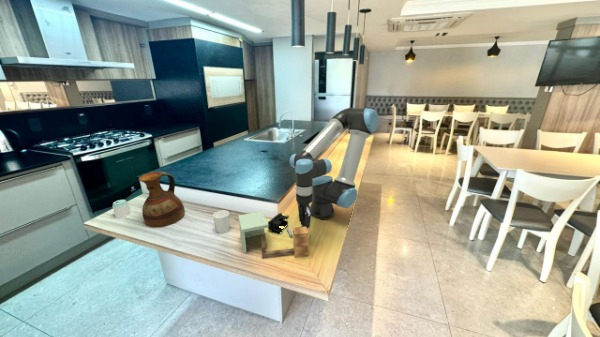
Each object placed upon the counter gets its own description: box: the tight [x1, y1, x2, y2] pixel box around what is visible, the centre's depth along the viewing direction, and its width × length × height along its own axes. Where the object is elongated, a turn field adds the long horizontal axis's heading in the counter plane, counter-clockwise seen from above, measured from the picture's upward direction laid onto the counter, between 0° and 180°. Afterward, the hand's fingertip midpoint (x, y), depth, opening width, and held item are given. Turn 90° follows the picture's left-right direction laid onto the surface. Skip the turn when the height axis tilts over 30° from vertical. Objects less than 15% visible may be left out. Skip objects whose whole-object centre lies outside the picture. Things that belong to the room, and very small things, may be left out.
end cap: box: [267, 212, 289, 235], centre depth 122 cm, size 10×7×7 cm
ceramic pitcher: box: [138, 171, 186, 228], centre depth 126 cm, size 20×20×30 cm
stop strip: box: [285, 226, 293, 239], centre depth 118 cm, size 1×7×2 cm, turn 20°
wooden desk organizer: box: [261, 226, 309, 259], centre depth 105 cm, size 20×12×12 cm, turn 99°
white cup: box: [212, 209, 231, 234], centre depth 120 cm, size 8×8×10 cm
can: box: [112, 199, 132, 219], centre depth 130 cm, size 7×7×12 cm
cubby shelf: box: [238, 210, 269, 254], centre depth 110 cm, size 12×13×12 cm
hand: (304, 237), depth 111 cm, fingers closed
